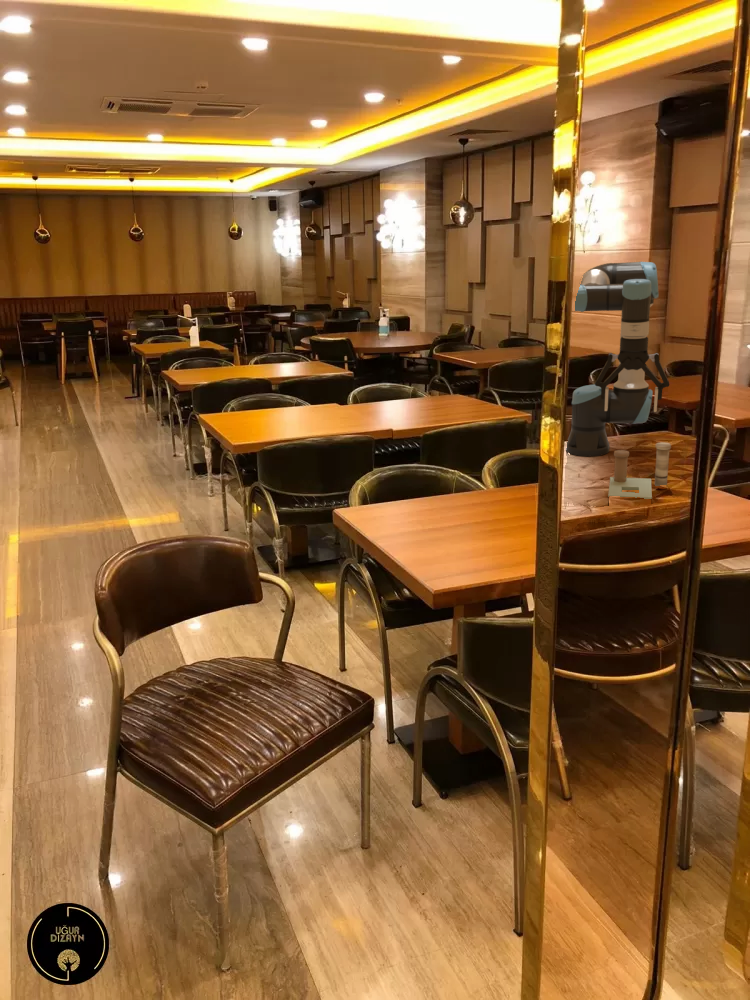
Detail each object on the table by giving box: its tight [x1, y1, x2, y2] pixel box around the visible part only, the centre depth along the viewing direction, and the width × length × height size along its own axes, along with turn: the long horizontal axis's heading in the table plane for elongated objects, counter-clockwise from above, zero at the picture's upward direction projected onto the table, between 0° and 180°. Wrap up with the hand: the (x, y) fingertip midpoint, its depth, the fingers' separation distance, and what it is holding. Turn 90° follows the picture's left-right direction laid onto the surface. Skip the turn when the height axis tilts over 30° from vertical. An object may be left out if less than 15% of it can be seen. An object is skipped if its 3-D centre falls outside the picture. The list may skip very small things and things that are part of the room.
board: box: [607, 449, 653, 500], centre depth 242 cm, size 17×12×13 cm
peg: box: [654, 441, 672, 486], centre depth 249 cm, size 4×4×14 cm
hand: (630, 410), depth 236 cm, fingers open, 13 cm apart
